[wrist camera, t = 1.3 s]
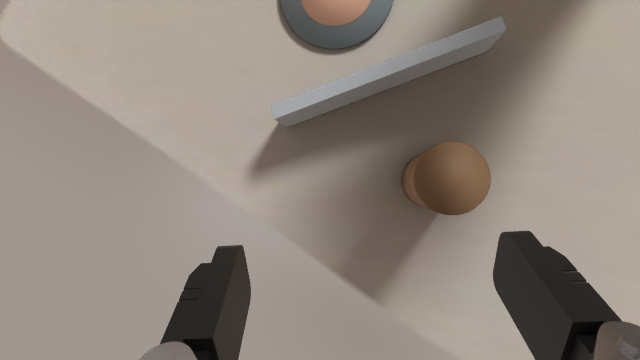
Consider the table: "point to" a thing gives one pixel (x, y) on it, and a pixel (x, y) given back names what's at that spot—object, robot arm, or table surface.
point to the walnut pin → (447, 178)
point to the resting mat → (335, 20)
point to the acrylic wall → (389, 73)
